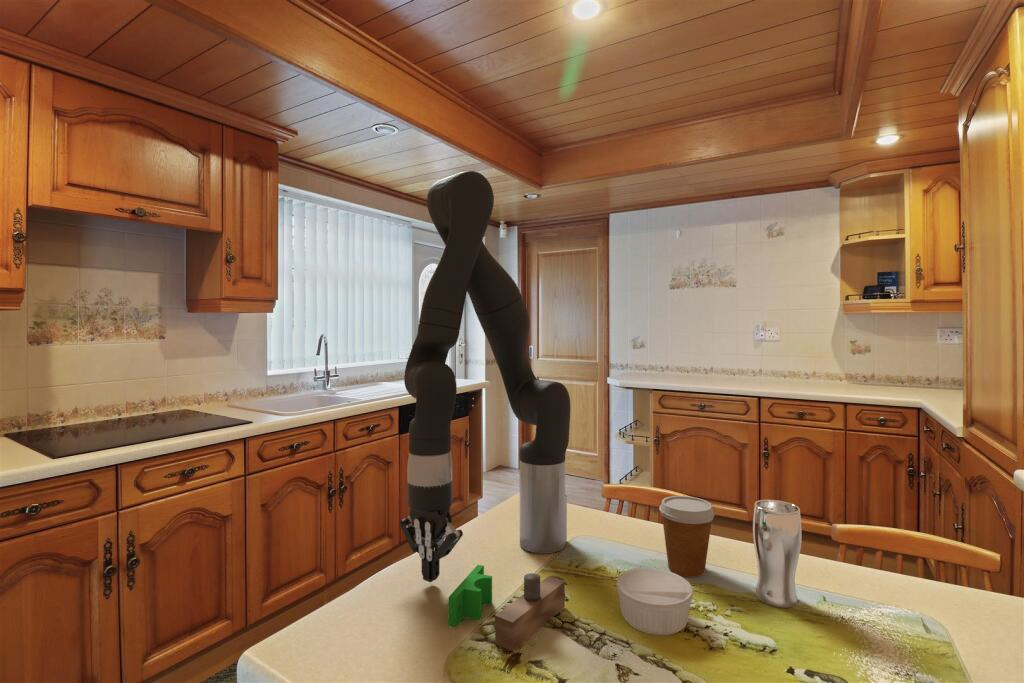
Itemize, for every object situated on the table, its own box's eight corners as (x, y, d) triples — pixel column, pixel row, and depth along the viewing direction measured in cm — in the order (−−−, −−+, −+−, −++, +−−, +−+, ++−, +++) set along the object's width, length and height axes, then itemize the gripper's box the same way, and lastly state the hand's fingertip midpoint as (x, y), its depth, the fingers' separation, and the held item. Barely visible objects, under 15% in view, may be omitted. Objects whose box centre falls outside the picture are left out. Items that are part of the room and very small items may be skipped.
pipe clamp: (472, 632, 75) (471, 601, 75) (448, 628, 76) (448, 597, 76) (498, 594, 85) (498, 567, 85) (477, 591, 87) (477, 563, 86)
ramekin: (651, 649, 70) (651, 611, 70) (601, 610, 80) (601, 576, 80) (710, 627, 76) (710, 592, 76) (655, 593, 86) (656, 561, 85)
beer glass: (799, 593, 85) (799, 502, 85) (802, 613, 79) (803, 516, 79) (752, 584, 88) (753, 496, 88) (752, 604, 82) (753, 509, 82)
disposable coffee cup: (709, 586, 88) (710, 516, 87) (653, 573, 92) (653, 506, 92) (718, 564, 96) (718, 500, 96) (665, 553, 101) (666, 492, 100)
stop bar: (548, 600, 83) (548, 557, 83) (564, 606, 81) (564, 562, 81) (495, 644, 72) (495, 593, 71) (512, 651, 70) (512, 600, 70)
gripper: (474, 479, 87) (474, 581, 88) (417, 467, 95) (417, 561, 95) (444, 490, 81) (445, 600, 81) (386, 477, 88) (386, 577, 89)
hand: (430, 579), depth 88 cm, fingers closed
